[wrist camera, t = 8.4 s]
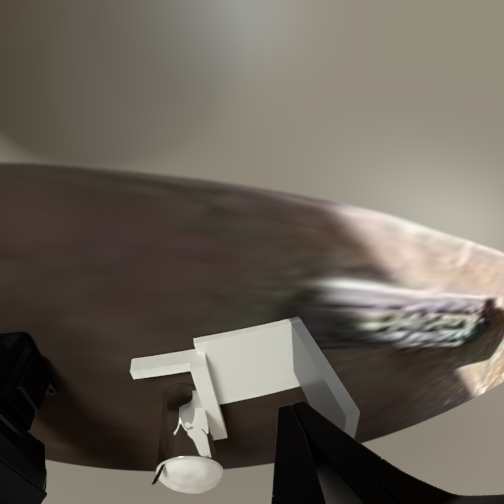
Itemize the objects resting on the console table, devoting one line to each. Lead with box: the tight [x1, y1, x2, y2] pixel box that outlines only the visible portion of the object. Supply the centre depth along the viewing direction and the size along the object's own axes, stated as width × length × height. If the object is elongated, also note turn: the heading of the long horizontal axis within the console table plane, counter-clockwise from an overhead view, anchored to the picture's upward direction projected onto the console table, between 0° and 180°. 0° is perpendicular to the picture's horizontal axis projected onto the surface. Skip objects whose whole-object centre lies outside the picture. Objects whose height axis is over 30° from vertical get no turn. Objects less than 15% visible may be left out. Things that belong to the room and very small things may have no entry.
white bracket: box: [130, 317, 360, 440], centre depth 20 cm, size 13×10×10 cm
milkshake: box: [152, 383, 224, 494], centre depth 19 cm, size 4×5×10 cm
